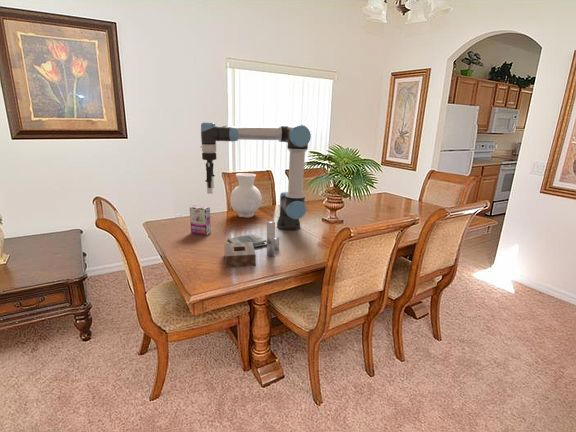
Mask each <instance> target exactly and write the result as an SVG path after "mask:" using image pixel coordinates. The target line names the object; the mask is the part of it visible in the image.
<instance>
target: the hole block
mask: <svg viewBox="0 0 576 432" xmlns="http://www.w3.org/2000/svg"><path fill="white" fill-rule="evenodd" d="M224 262H225V269H231V268H232V269H233V268H245V267H247V268H248V267H256V266H257V263H256V262H257V254H256V251H255V249H254V247H253V244H252V242H247V243H230V242H229V243H224Z"/></svg>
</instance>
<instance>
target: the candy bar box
mask: <svg viewBox="0 0 576 432" xmlns="http://www.w3.org/2000/svg"><path fill="white" fill-rule="evenodd" d="M189 217H190V218H189V220H190V234H194V235H199V236H206V237H207V236H208V235H211V234H212V230H211V227H212V226H211V225H212V223H211V207H209V206H201V205H192V206H189Z"/></svg>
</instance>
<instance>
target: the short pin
mask: <svg viewBox="0 0 576 432" xmlns="http://www.w3.org/2000/svg"><path fill="white" fill-rule="evenodd" d="M279 250H280V237H277V236H275V251H279Z"/></svg>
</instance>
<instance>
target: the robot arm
mask: <svg viewBox="0 0 576 432" xmlns="http://www.w3.org/2000/svg"><path fill="white" fill-rule="evenodd" d="M311 135H312V134H311V131H310V130H309V128H308V127H307V126H306V125H303V124H301V123H291V124H283V125H282V124H280V125H278V126H249V125H248V126H246V125H243V126H242V125H241V126H240V125H239V126H235V125H223V126H216V123H215V122H201V124H200V138H201V146H200V148H201V152H202V153H201V158H202V160H203V161H206V162H205V170H206V180H204V181H205V182H206V194H209V195H210V194H211V195H212V194H213V189H215V188H214V187H215V186H214V185H215V184H214V182H215V180H214V179H215V176H216V175H215V174H214V162H213V161H216V160H217V153H216V152H217V142H238V141H239V140H241V141H243V140H244V141H245V140H246V141H247V140H248V141H249V140H252V141H255V140H256V141H278V142H280V143H287V145H286V147H287V150H288V151H289V160H288V161H289V166H288V168H289V169H288V186H287V191H282V192H281V193H280V196H279V200H280V201H279V216H278V218H277V223H276V228H277V229H279V230H284V231H295V230H299V229H300V228H301V221H300V219H302V218H303V217H304V216H305V214H306V212H307V207H306V203H305V199H306V195H305V194H304V193H303V192H304V189H303V188H304V177H305V176H304V175H305V174H304V173H305V155H306V152H307V151H308V149H309V143H310V141H311V139H312V137H311Z"/></svg>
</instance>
